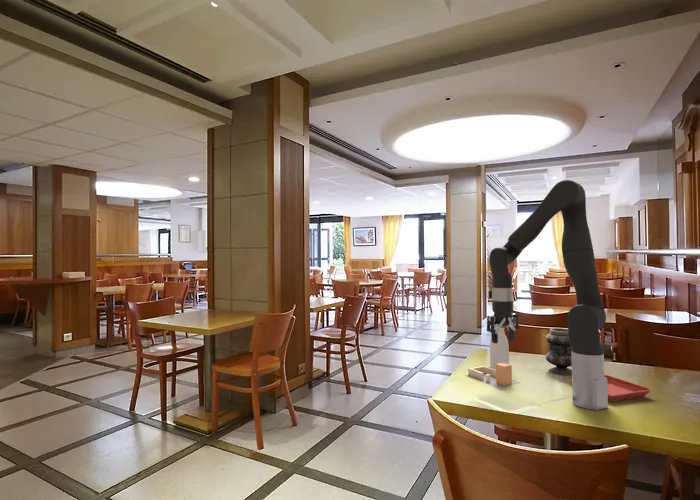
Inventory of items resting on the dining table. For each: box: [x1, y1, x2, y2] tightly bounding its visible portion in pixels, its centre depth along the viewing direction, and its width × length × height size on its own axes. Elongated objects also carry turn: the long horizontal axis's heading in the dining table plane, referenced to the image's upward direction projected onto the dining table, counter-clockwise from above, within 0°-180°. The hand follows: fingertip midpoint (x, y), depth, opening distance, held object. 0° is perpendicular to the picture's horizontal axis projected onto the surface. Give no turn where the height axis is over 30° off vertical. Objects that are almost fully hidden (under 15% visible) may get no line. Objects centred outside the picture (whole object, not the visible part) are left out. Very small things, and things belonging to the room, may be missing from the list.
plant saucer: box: [569, 374, 652, 402], centre depth 142 cm, size 18×18×3 cm
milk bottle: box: [489, 324, 510, 370], centre depth 172 cm, size 8×8×20 cm
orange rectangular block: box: [495, 363, 513, 386], centre depth 151 cm, size 4×4×7 cm
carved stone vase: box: [545, 327, 572, 376], centre depth 168 cm, size 12×12×18 cm
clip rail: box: [464, 365, 521, 388], centre depth 156 cm, size 17×12×4 cm
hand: (503, 341), depth 151 cm, fingers open, 8 cm apart
